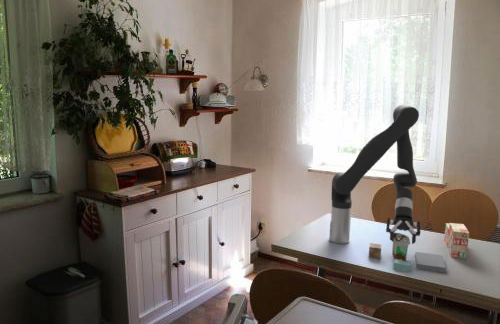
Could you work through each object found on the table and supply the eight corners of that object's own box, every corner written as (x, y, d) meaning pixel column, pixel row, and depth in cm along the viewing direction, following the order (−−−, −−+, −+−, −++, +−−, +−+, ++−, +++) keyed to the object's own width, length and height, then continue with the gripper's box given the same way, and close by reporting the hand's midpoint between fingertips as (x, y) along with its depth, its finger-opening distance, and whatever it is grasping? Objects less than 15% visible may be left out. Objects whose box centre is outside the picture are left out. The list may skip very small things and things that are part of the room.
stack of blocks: (443, 240, 205) (446, 217, 202) (457, 242, 203) (460, 218, 201) (450, 257, 184) (453, 230, 182) (466, 259, 183) (469, 232, 180)
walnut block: (368, 257, 182) (369, 246, 181) (369, 253, 186) (369, 243, 186) (380, 259, 180) (381, 248, 179) (380, 255, 185) (381, 244, 184)
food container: (410, 265, 174) (412, 242, 173) (395, 264, 175) (397, 241, 174) (406, 254, 186) (407, 233, 184) (391, 253, 187) (393, 231, 186)
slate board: (416, 268, 172) (417, 263, 171) (414, 255, 185) (415, 251, 184) (445, 272, 168) (446, 267, 168) (441, 259, 181) (442, 255, 181)
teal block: (393, 269, 171) (393, 262, 170) (394, 265, 174) (395, 259, 174) (408, 272, 168) (409, 265, 167) (409, 268, 171) (410, 262, 171)
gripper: (387, 204, 189) (385, 236, 181) (421, 207, 185) (421, 240, 176) (387, 212, 195) (385, 243, 186) (419, 215, 191) (419, 247, 182)
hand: (402, 242), depth 181 cm, fingers open, 8 cm apart
